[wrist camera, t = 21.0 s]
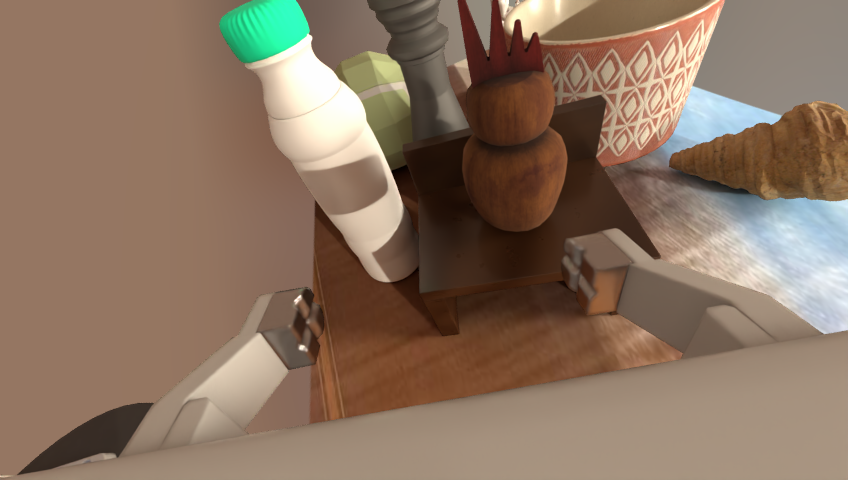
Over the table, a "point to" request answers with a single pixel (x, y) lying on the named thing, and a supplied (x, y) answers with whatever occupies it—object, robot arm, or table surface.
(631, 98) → the planter
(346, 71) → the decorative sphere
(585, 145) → the miniature wooden bench
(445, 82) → the candle holder
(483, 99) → the wooden figurine
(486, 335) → the table surface
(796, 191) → the seashell
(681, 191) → the table surface
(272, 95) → the water bottle
